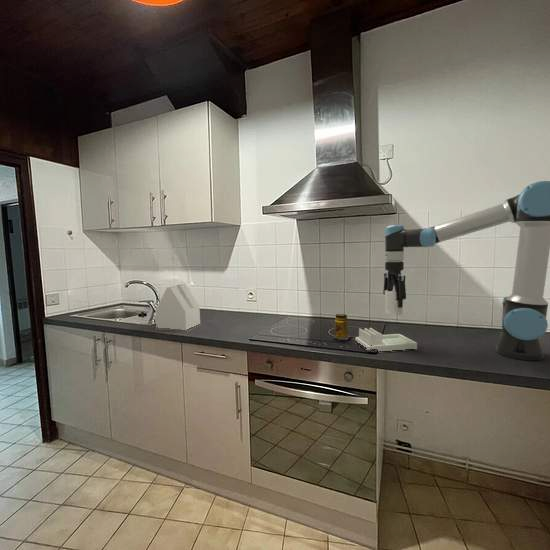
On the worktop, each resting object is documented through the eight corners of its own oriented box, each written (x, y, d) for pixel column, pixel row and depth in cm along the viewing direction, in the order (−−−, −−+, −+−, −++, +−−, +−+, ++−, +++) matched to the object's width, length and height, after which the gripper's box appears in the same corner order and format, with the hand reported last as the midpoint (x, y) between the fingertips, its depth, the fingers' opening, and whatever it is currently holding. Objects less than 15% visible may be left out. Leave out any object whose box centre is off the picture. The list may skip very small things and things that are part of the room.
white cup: (405, 315, 132) (405, 292, 131) (386, 315, 133) (386, 292, 132) (401, 311, 139) (401, 289, 139) (383, 311, 141) (383, 289, 140)
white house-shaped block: (156, 330, 176) (153, 287, 173) (172, 323, 191) (170, 283, 188) (186, 332, 171) (183, 287, 168) (200, 325, 185) (198, 283, 183)
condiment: (331, 339, 149) (331, 315, 148) (340, 335, 156) (340, 312, 154) (345, 342, 144) (345, 317, 143) (353, 337, 151) (353, 313, 150)
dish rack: (417, 349, 132) (417, 332, 131) (368, 353, 129) (368, 336, 128) (399, 339, 146) (399, 324, 145) (355, 343, 143) (355, 327, 142)
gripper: (375, 260, 144) (375, 308, 146) (398, 262, 124) (398, 318, 126) (390, 259, 145) (390, 307, 147) (416, 262, 125) (415, 317, 127)
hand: (393, 312), depth 136 cm, fingers closed on white cup, 7 cm apart
